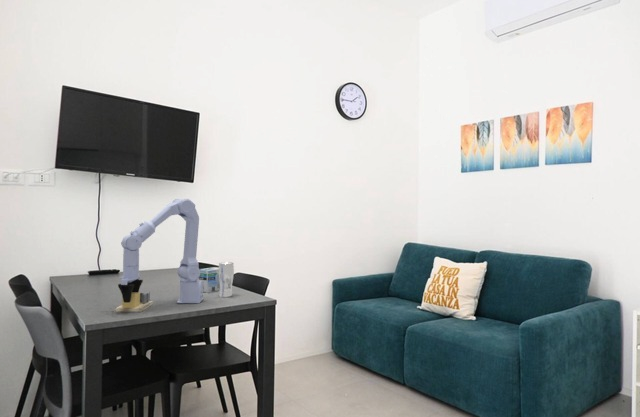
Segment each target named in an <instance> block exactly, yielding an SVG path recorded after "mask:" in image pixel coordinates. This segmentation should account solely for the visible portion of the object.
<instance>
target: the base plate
mask: <svg viewBox="0 0 640 417" xmlns="http://www.w3.org/2000/svg"><path fill="white" fill-rule="evenodd" d="M153 302H154V301H153V300H150V301H149V302H146V303H142V302H140V305H139V306H137V307H136V308H122V304H121V305H119V306H117V307H115V309H114V311H115V313H117V312H118V313H119V312H123V313H125V312H132V313H133V312H138V313H139V312H143V311H144V310H146V309H148V308H149V307H151V306H152V305H153Z"/></svg>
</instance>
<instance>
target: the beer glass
mask: <svg viewBox="0 0 640 417" xmlns="http://www.w3.org/2000/svg"><path fill="white" fill-rule="evenodd" d="M234 267H235V266H234V262H231V261H229V262H227V261H226V262H225V261H223V262H219V263H218V267H217V268H218V277H219V284H220V291H218V292H219V294H218V297H220V298H229V297H230V298H231V297H233V290H232V289H233V280H234V274H235V268H234Z"/></svg>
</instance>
